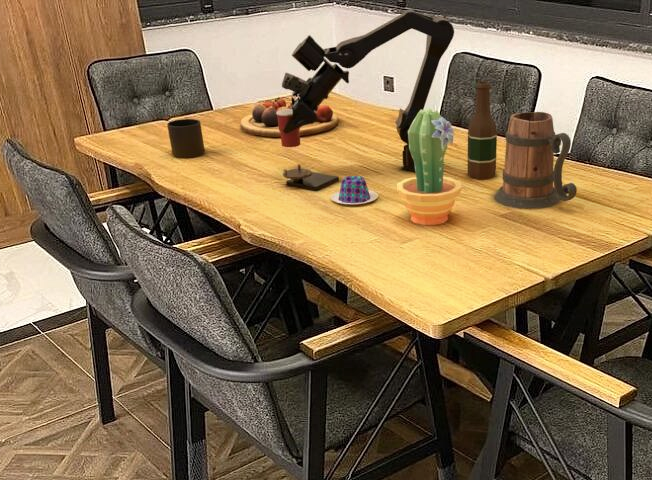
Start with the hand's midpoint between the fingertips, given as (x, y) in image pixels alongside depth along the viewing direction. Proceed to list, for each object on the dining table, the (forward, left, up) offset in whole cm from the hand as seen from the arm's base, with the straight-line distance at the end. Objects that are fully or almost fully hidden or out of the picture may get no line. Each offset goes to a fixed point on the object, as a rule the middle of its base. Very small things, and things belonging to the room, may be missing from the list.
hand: (284, 129), depth 222 cm
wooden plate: (+35, -44, -13) cm, 57 cm away
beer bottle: (-46, -26, -13) cm, 54 cm away
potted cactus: (-51, +10, -13) cm, 54 cm away
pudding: (-27, +7, -13) cm, 31 cm away
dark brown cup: (+42, -4, -13) cm, 44 cm away
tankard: (-68, -14, -13) cm, 71 cm away
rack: (-9, +2, -12) cm, 16 cm away
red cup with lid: (-1, -1, -4) cm, 4 cm away
